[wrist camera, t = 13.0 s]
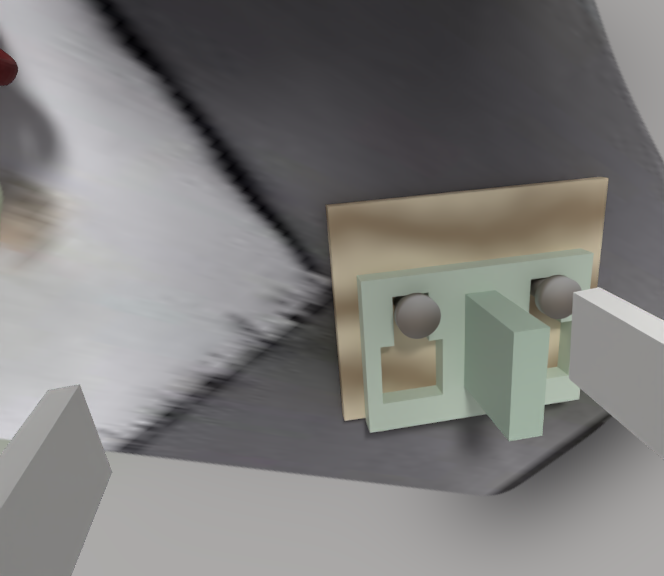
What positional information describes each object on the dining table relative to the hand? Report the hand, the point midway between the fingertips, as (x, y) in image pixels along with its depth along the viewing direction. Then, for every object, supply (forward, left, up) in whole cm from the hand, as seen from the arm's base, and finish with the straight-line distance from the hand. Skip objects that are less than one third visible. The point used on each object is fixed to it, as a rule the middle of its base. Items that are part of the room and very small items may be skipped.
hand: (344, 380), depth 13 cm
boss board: (+8, +14, -24) cm, 29 cm away
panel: (+11, +14, -23) cm, 29 cm away
